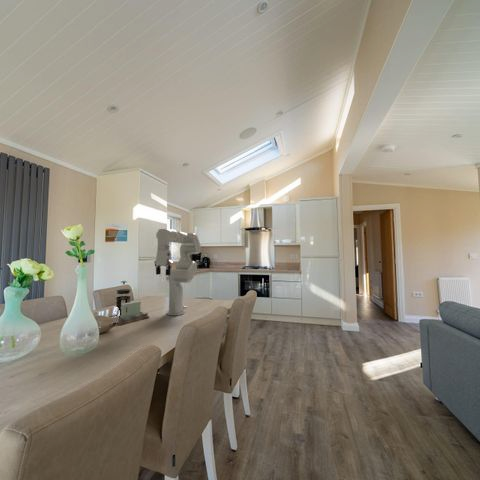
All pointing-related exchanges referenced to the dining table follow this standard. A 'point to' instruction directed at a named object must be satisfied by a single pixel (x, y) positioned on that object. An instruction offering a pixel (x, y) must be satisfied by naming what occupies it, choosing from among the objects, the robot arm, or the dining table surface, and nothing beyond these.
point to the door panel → (130, 309)
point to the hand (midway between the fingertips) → (163, 274)
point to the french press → (122, 297)
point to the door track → (132, 318)
